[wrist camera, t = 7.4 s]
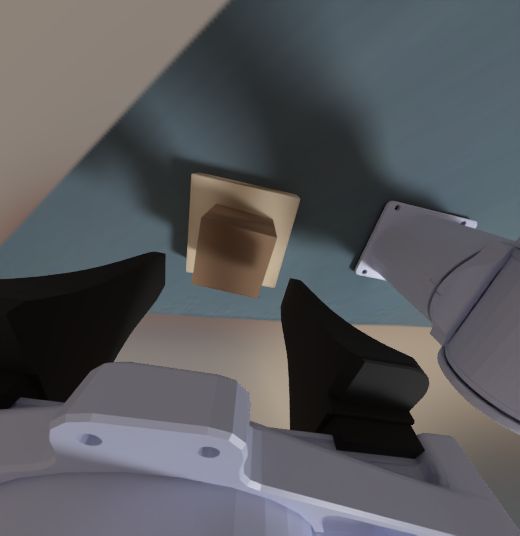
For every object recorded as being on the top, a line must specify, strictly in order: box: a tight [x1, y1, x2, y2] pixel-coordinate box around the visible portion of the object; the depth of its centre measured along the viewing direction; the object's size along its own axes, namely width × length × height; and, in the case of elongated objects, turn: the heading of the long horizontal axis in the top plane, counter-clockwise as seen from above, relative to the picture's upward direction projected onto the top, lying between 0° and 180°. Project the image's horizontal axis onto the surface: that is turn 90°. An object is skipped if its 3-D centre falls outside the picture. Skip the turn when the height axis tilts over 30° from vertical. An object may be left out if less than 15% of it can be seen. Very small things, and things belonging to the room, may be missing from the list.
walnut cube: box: [192, 204, 277, 299], centre depth 16 cm, size 5×5×5 cm
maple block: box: [186, 172, 301, 288], centre depth 20 cm, size 9×9×3 cm
